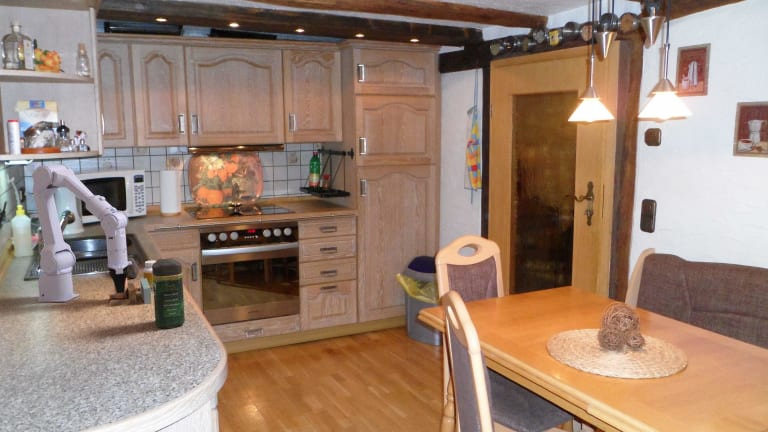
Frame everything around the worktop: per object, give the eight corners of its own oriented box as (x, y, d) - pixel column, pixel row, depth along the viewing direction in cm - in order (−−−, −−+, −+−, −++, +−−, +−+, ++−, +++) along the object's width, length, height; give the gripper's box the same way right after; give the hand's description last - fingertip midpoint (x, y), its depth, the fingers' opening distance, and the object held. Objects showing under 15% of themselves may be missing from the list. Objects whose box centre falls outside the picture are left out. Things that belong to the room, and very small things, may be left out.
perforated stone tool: (142, 279, 226) (141, 260, 225) (127, 281, 223) (126, 262, 222) (133, 271, 238) (131, 254, 237) (118, 273, 235) (117, 255, 234)
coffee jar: (187, 326, 171) (183, 261, 169) (157, 330, 168) (153, 265, 165) (182, 316, 180) (178, 255, 177) (154, 320, 177) (149, 258, 174)
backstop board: (144, 304, 193) (143, 288, 193) (141, 293, 206) (140, 279, 205) (151, 303, 194) (150, 288, 193) (147, 292, 207) (146, 278, 206)
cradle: (110, 306, 191) (109, 292, 190) (109, 298, 199) (108, 285, 199) (136, 303, 194) (135, 289, 194) (134, 295, 203) (133, 282, 202)
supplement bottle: (155, 291, 208) (153, 263, 207) (141, 290, 209) (139, 263, 208) (164, 287, 213) (162, 260, 212) (150, 286, 214) (148, 259, 213)
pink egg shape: (112, 298, 195) (111, 280, 194) (118, 295, 198) (116, 277, 198) (125, 298, 195) (124, 280, 194) (130, 294, 199) (128, 276, 198)
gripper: (132, 252, 189) (135, 294, 191) (129, 244, 202) (132, 284, 204) (107, 254, 186) (110, 297, 188) (105, 246, 199) (109, 286, 201)
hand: (120, 291), depth 196 cm, fingers closed on pink egg shape, 4 cm apart
